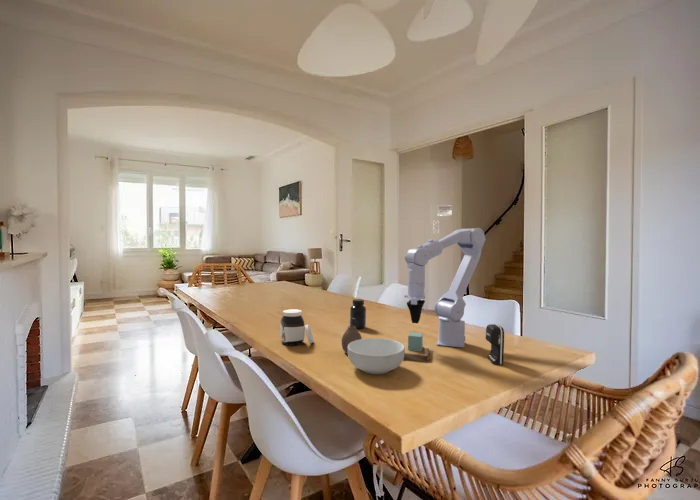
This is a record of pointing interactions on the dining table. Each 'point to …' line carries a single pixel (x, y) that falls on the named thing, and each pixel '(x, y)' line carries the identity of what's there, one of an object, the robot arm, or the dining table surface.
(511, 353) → the dining table surface
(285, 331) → the spread jar
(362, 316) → the supplement bottle
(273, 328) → the dining table surface
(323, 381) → the dining table surface
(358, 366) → the cereal bowl
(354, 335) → the vase
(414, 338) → the block
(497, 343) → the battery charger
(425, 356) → the brown angular piece
